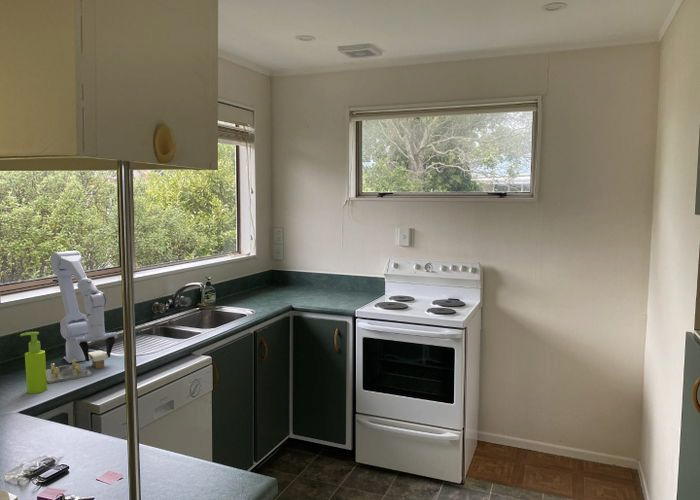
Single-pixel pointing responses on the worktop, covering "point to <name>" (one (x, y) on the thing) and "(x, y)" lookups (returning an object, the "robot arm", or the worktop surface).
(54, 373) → the chassis
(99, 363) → the wooden block
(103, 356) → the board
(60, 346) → the worktop surface
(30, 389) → the soap dispenser
